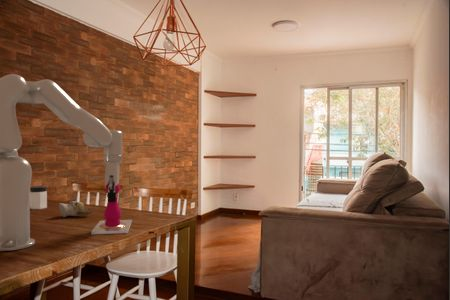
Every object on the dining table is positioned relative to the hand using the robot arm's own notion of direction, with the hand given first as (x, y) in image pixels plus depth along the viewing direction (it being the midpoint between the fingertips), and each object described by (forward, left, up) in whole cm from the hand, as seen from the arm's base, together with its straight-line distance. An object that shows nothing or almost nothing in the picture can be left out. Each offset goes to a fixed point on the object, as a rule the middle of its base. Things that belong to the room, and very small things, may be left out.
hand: (113, 200), depth 149 cm
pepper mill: (0, 0, -11) cm, 11 cm away
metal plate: (0, 0, -12) cm, 12 cm away
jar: (+54, +47, -12) cm, 73 cm away
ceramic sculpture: (+29, +22, -12) cm, 38 cm away
